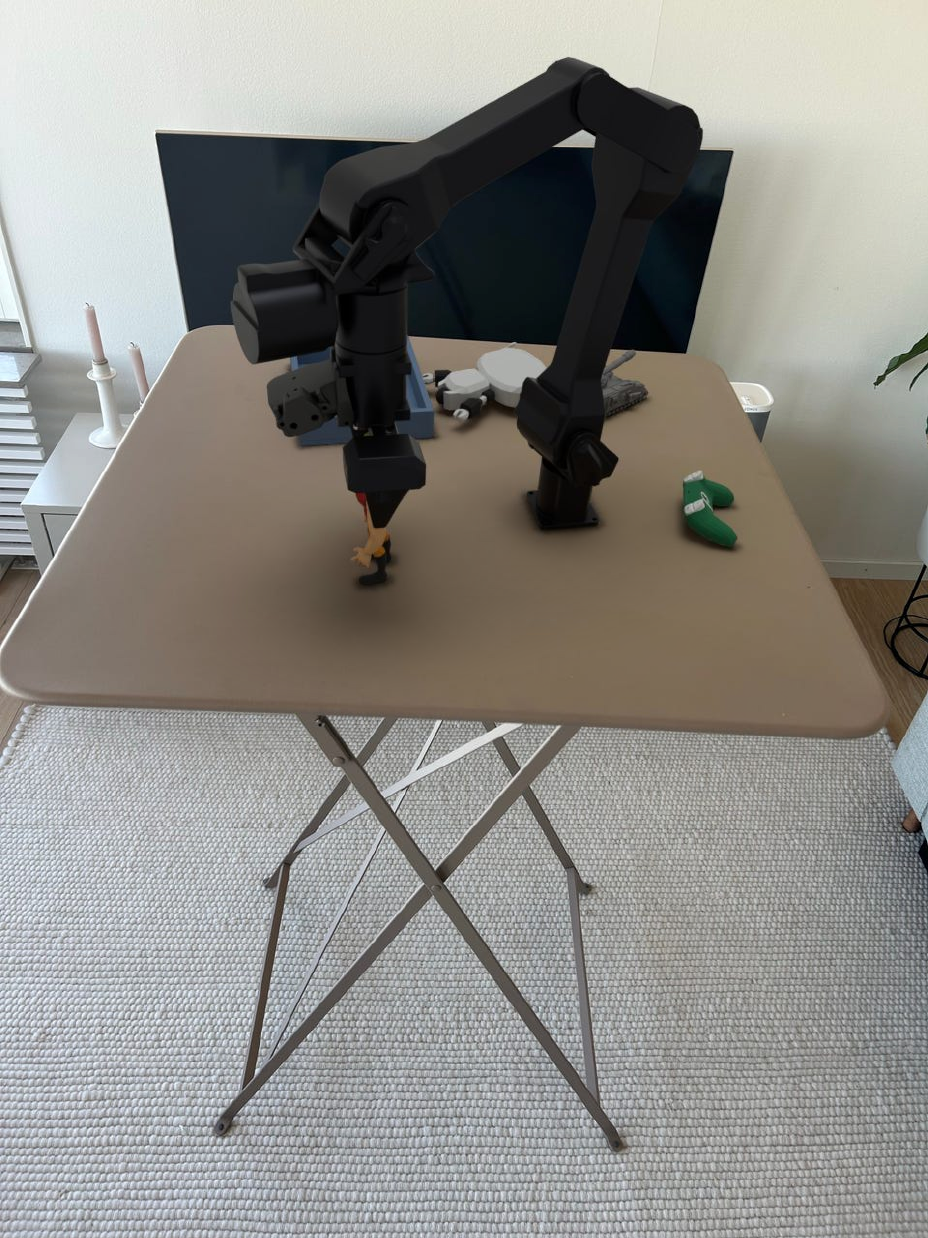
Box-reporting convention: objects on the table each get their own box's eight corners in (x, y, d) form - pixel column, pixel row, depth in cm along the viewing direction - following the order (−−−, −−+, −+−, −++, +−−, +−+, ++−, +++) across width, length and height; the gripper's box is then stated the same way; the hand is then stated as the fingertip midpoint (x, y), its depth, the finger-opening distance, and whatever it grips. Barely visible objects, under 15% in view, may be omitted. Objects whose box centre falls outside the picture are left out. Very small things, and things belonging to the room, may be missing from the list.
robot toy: (458, 442, 106) (566, 411, 110) (457, 409, 102) (568, 378, 107) (416, 395, 113) (518, 367, 118) (414, 363, 110) (519, 335, 115)
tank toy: (601, 372, 119) (607, 335, 115) (655, 400, 114) (663, 363, 110) (538, 398, 113) (542, 360, 109) (592, 429, 108) (598, 391, 104)
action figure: (366, 538, 90) (362, 405, 80) (401, 542, 90) (402, 408, 80) (348, 597, 83) (342, 459, 73) (386, 601, 83) (385, 463, 73)
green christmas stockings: (706, 511, 100) (676, 474, 97) (736, 494, 97) (706, 456, 95) (708, 561, 93) (676, 523, 90) (741, 545, 91) (709, 505, 88)
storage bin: (433, 437, 105) (434, 410, 102) (300, 446, 102) (298, 418, 99) (408, 360, 119) (408, 335, 116) (290, 366, 116) (288, 340, 113)
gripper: (263, 294, 75) (278, 453, 86) (274, 400, 62) (290, 573, 72) (392, 291, 77) (392, 446, 88) (430, 392, 64) (424, 561, 74)
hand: (373, 501), depth 80 cm, fingers closed on action figure, 7 cm apart
